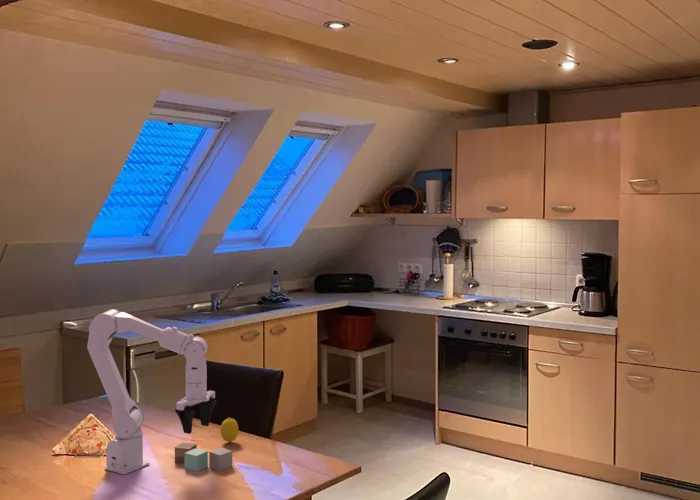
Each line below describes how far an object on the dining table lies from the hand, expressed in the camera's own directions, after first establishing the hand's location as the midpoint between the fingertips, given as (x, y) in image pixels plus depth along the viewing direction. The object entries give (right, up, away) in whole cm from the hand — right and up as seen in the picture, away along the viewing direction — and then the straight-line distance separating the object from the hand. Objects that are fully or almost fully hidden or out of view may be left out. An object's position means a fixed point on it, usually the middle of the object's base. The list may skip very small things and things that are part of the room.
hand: (196, 429), depth 195 cm
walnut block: (-4, -10, +4) cm, 12 cm away
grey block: (+7, -11, 0) cm, 13 cm away
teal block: (0, -11, -1) cm, 11 cm away
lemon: (+6, -10, +20) cm, 23 cm away
